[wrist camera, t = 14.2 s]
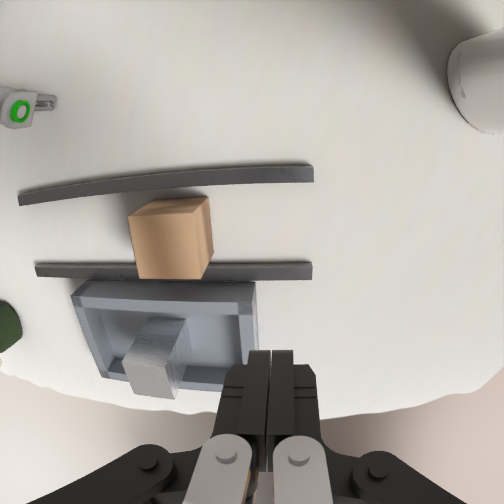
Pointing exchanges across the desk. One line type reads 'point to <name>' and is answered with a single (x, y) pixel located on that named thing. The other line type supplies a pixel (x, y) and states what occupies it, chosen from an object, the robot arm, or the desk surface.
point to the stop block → (158, 357)
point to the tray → (177, 307)
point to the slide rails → (173, 181)
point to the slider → (172, 238)
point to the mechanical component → (21, 106)
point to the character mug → (8, 328)
